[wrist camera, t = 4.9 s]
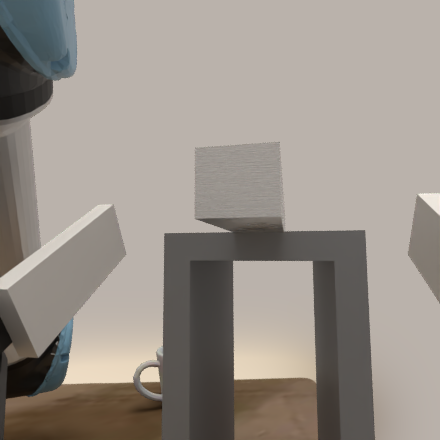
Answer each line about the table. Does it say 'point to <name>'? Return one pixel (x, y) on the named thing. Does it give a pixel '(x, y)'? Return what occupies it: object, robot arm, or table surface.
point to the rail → (240, 187)
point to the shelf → (223, 334)
